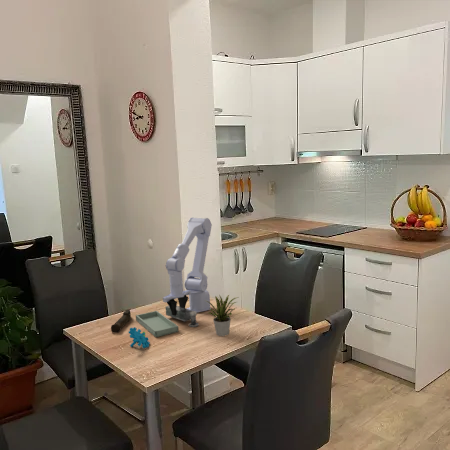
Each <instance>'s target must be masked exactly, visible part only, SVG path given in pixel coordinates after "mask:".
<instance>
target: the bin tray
mask: <svg viewBox="0 0 450 450" xmlns="http://www.w3.org/2000/svg"><path fill="white" fill-rule="evenodd" d="M135 321H136V322H137V323H138V324H139V325H140V326H142V328H144V329H145V330H146V331H147V332H148V333H150V334H151V335H153V337H154V338H160V337H164V336H167V335H172V334H175V333H178V332H179V325H178V324H176V323H175V322H174V321H172V320H170V319H169V318H167V317H166V316H165V315H164V314H162V313H161V312H160V311H158V310H154V311H150V312H145V313H139V314H135Z"/></svg>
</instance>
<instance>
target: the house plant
mask: <svg viewBox="0 0 450 450" xmlns="http://www.w3.org/2000/svg"><path fill="white" fill-rule="evenodd" d="M229 296H230V294H228V295H227V296H226V297H225V300H223V298H222V296H221V295H220V294H219V296H216V295H215V297H214V299H215V301H216V306H215V305H213V304H212V303H211V301H210V302H208V301H207V302H208V303H210V306H212V308H213V309H212V308H211V307H210V308H211V309H210V308H209V309H210V312H208V314H209V315H212V316H213V317H214V318H213V324H214V329H215V334H216V335H217V336H218V337H225V335H226V336H228V335H229V334H230V326H231V317H230V316H232V314H233V313H232V312H233V311H234V310H235V309H236V307H234V308H231V307H232V306H233V305H234V304H236V303H237V301H234V300H236V299H238V298H240V297H239V296H238V297H234V298H232V299H231V300H229ZM228 301H229V302H228ZM233 301H234V302H233ZM215 307H216V308H215ZM228 312H229V313H228Z"/></svg>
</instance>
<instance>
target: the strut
mask: <svg viewBox="0 0 450 450" xmlns="http://www.w3.org/2000/svg"><path fill="white" fill-rule="evenodd" d="M190 312H191V310H189V309H187V308H186V307H185V308H182V307H179V305H177V306H176V316H174V315H172V312H171V309H170V307H169V305H166V306H165V315H166V316H168V317H171V318H174V319H177V320H179V321H182V322H187V321H191V316H190Z"/></svg>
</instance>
